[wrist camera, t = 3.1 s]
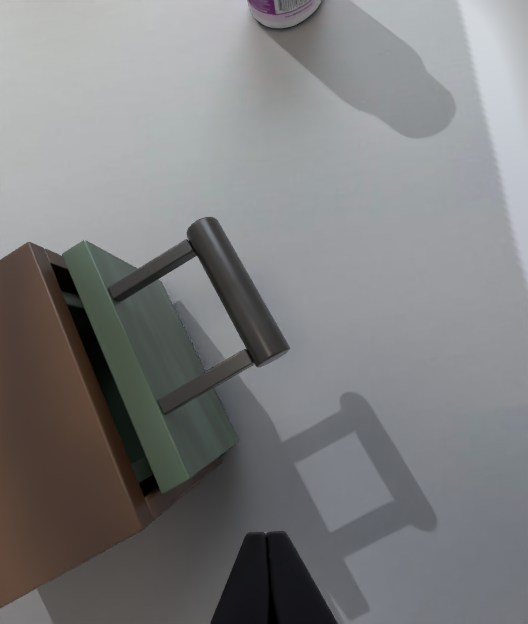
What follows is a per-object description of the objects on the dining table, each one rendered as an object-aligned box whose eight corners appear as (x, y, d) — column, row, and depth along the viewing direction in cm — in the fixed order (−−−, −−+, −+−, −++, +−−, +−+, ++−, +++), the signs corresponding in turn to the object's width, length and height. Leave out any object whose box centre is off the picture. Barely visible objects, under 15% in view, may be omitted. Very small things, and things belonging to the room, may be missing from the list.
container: (234, 236, 20) (186, 167, 14) (324, 393, 18) (321, 406, 11) (-4, 381, 22) (-157, 385, 15) (50, 546, 19) (-105, 643, 12)
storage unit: (142, 290, 22) (28, 240, 14) (222, 462, 19) (142, 530, 11) (-27, 393, 23) (-229, 405, 15) (26, 571, 20) (-185, 710, 12)
